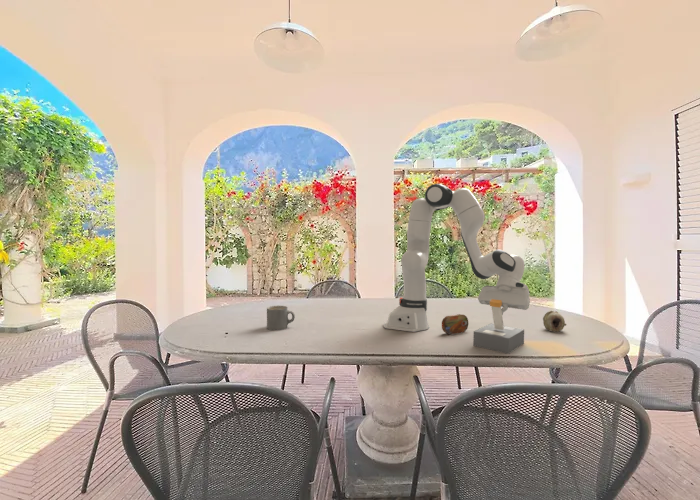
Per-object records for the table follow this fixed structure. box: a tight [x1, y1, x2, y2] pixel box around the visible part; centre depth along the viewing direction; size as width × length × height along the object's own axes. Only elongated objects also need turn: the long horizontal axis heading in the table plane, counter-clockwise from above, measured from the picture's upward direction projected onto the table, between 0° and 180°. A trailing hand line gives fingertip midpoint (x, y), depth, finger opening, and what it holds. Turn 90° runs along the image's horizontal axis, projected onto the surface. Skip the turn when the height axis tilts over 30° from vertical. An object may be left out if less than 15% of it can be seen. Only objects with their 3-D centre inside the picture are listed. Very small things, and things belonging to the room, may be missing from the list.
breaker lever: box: [489, 299, 505, 330], centre depth 140 cm, size 2×4×13 cm, turn 45°
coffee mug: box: [266, 305, 296, 331], centre depth 167 cm, size 13×10×10 cm
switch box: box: [472, 323, 525, 354], centre depth 142 cm, size 18×14×6 cm
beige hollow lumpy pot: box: [542, 310, 567, 333], centre depth 164 cm, size 9×8×10 cm
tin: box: [441, 313, 469, 335], centre depth 160 cm, size 15×3×8 cm, turn 118°
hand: (498, 313), depth 141 cm, fingers closed, pressing on breaker lever
